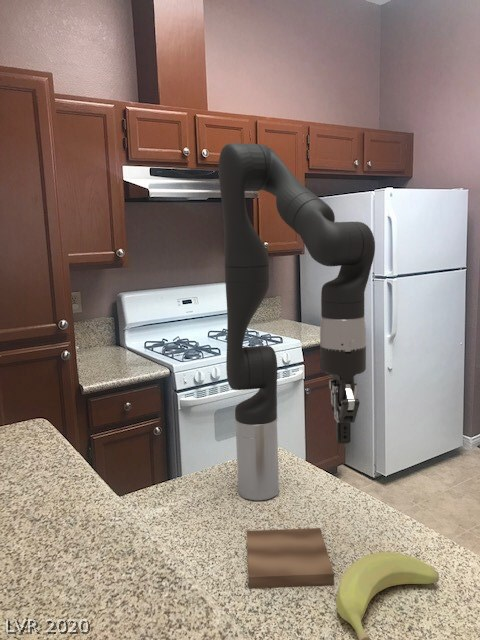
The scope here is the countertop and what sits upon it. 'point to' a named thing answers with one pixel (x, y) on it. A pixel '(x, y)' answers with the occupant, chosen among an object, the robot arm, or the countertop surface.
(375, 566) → the banana
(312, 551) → the walnut board
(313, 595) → the countertop surface
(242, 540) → the countertop surface
